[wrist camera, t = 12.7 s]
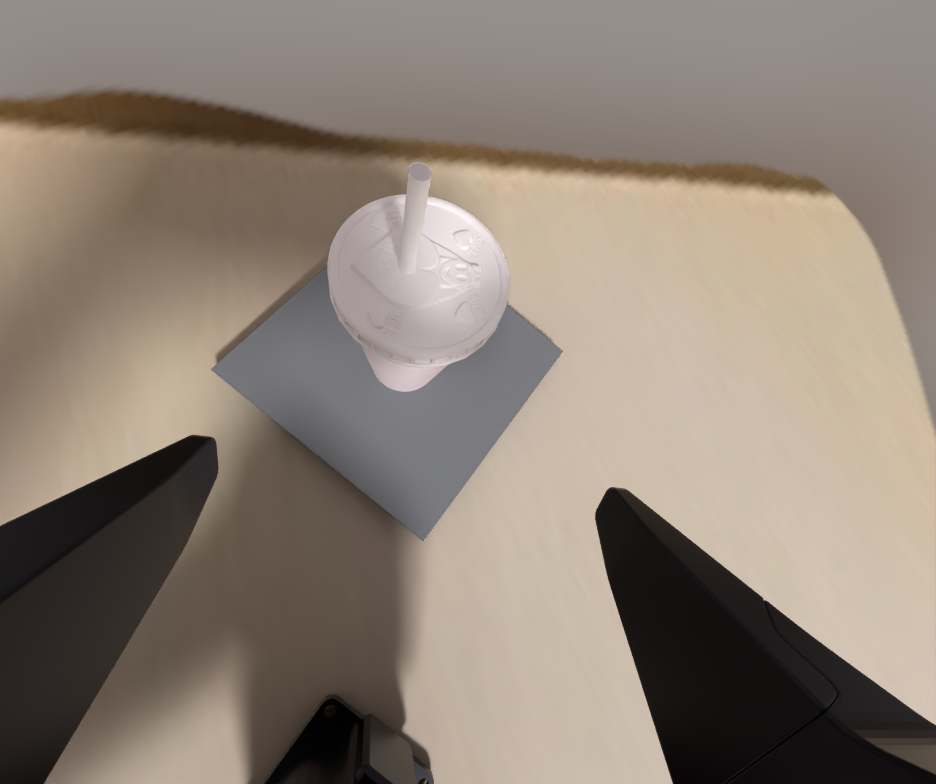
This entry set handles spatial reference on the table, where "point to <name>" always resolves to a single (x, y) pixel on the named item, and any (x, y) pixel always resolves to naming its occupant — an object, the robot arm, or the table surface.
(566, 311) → the table surface
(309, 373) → the placemat
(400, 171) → the table surface
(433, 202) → the smoothie
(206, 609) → the table surface
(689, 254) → the table surface
